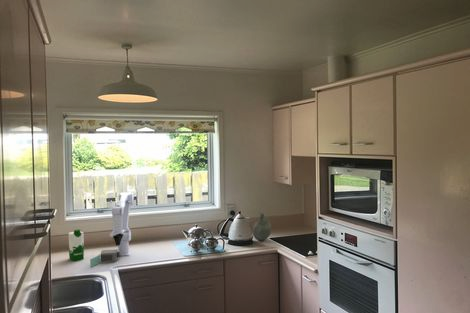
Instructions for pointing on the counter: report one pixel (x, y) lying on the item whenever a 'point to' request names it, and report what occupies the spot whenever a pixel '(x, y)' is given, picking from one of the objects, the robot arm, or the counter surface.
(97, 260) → the side door
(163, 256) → the counter surface
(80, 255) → the milk carton
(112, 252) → the camera body
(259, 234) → the flask
